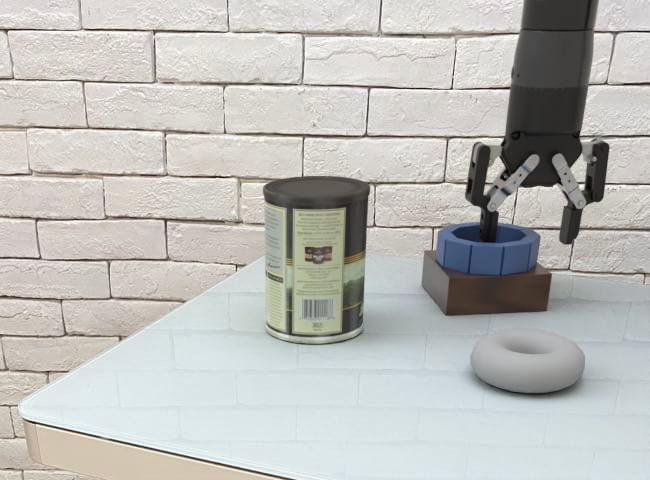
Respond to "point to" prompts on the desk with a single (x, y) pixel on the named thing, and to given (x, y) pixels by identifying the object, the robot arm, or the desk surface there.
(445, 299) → the platform
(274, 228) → the coffee can
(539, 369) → the donut
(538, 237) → the ring
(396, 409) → the desk surface
